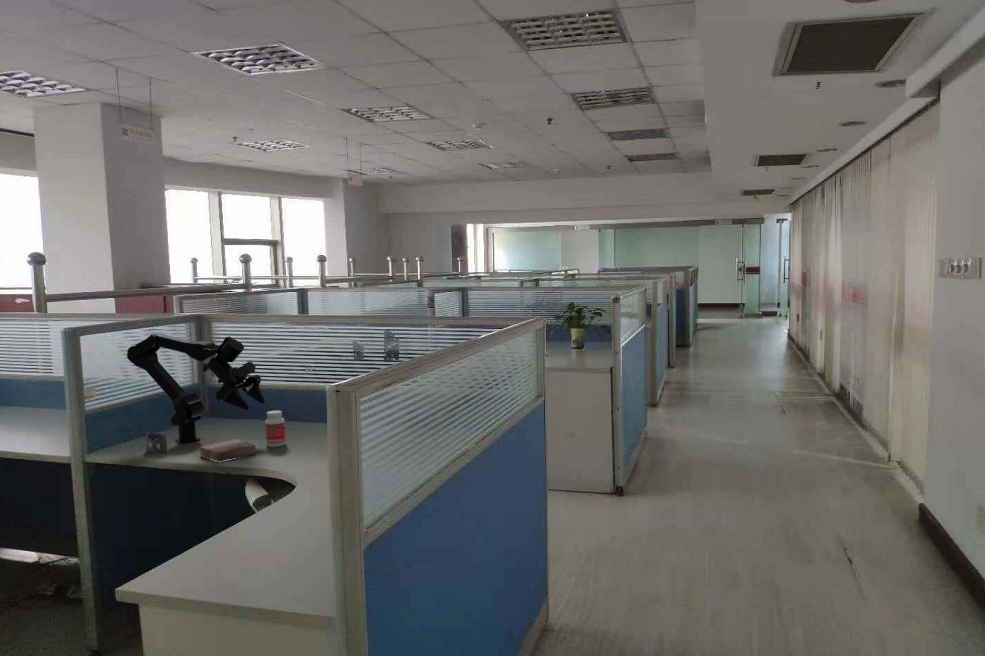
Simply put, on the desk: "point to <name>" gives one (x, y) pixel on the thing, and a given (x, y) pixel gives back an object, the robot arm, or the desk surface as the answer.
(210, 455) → the walnut plinth
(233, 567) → the desk surface
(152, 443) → the mini dv tape
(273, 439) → the pill bottle
